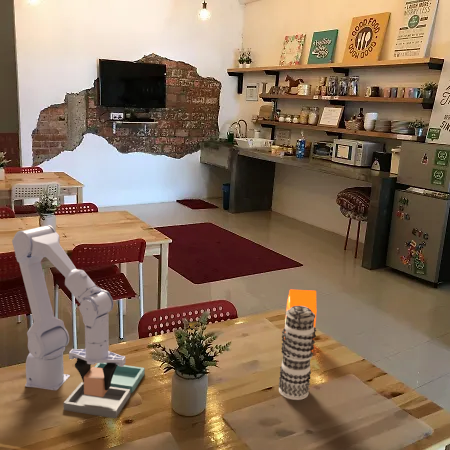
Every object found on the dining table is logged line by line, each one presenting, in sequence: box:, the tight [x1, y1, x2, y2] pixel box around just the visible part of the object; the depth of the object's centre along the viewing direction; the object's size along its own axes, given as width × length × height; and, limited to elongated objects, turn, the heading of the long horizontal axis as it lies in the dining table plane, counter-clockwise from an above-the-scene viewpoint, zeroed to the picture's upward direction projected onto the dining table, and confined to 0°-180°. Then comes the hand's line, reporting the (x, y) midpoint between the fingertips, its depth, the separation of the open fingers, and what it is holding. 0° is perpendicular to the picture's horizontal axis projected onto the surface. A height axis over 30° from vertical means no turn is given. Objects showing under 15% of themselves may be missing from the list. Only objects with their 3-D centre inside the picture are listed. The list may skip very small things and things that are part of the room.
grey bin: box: [63, 381, 131, 419], centre depth 131 cm, size 14×10×2 cm
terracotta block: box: [84, 366, 108, 397], centre depth 130 cm, size 5×5×5 cm
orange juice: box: [284, 289, 318, 353], centre depth 166 cm, size 8×9×20 cm
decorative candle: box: [278, 306, 317, 401], centre depth 139 cm, size 9×9×25 cm
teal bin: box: [94, 363, 146, 394], centre depth 142 cm, size 14×10×2 cm
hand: (97, 386), depth 130 cm, fingers closed on terracotta block, 5 cm apart
